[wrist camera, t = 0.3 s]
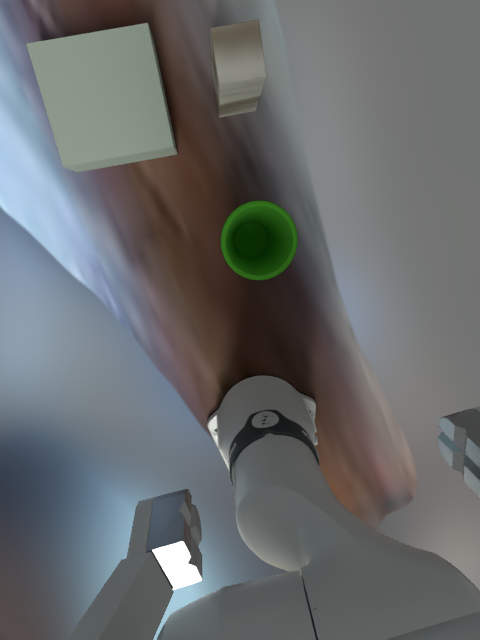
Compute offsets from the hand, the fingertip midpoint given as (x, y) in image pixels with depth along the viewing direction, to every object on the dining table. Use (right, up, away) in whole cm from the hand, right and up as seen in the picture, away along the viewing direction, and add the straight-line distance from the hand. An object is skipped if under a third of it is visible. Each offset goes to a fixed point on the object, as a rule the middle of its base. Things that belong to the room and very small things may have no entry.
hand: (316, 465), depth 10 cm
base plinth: (-19, +32, +32) cm, 49 cm away
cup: (-1, +17, +38) cm, 41 cm away
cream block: (-3, +35, +32) cm, 48 cm away
